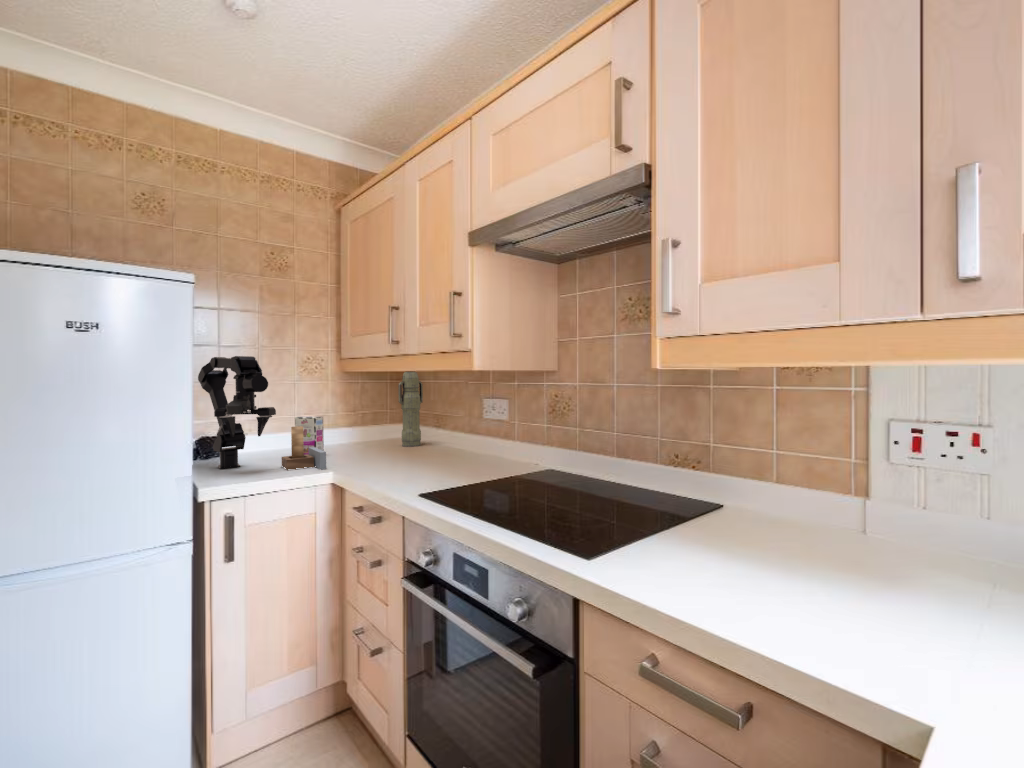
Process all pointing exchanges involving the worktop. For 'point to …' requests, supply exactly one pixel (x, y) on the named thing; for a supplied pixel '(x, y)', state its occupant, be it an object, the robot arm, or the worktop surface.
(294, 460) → the socket block
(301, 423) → the candy bar box
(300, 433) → the dowel
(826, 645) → the worktop surface
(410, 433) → the green stone statue
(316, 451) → the backstop wall
